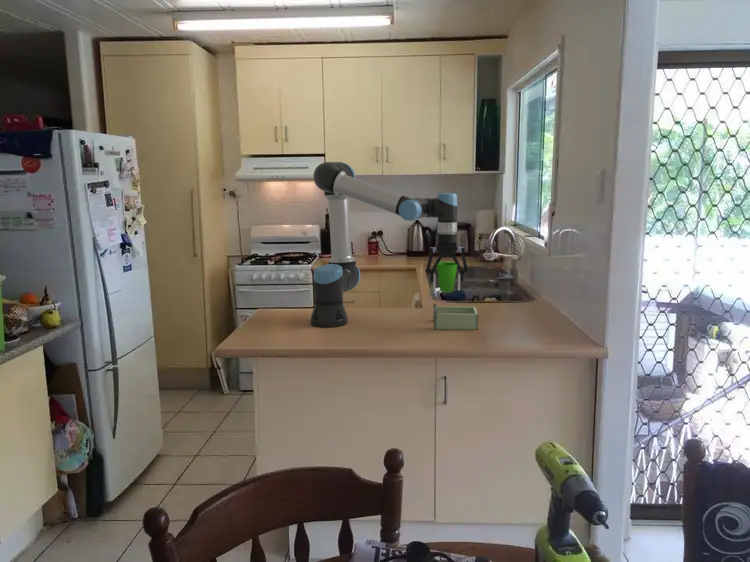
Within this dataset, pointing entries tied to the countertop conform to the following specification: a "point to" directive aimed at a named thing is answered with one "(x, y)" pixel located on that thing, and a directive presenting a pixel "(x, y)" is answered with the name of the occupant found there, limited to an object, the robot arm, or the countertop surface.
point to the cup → (446, 275)
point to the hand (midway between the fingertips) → (446, 289)
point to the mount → (455, 317)
